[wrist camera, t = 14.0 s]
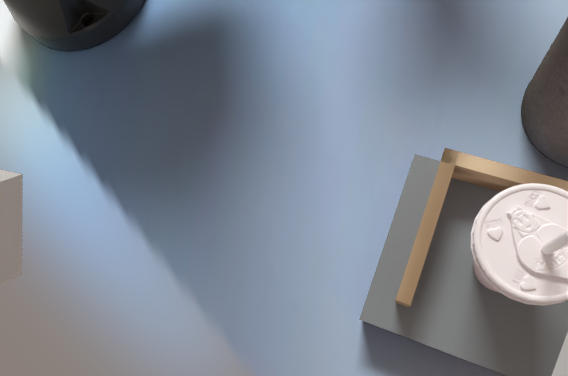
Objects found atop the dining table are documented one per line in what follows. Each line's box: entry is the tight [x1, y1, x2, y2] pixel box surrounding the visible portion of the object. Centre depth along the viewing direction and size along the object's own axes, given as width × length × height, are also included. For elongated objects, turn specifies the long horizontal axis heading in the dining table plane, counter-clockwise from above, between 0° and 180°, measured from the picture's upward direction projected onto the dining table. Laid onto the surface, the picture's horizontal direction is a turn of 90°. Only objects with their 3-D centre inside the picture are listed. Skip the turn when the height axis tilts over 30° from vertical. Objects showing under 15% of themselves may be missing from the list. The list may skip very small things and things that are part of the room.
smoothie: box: [471, 183, 568, 306], centre depth 29 cm, size 6×6×14 cm
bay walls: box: [396, 148, 568, 308], centre depth 34 cm, size 12×11×3 cm
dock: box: [359, 154, 568, 376], centre depth 37 cm, size 16×13×3 cm
